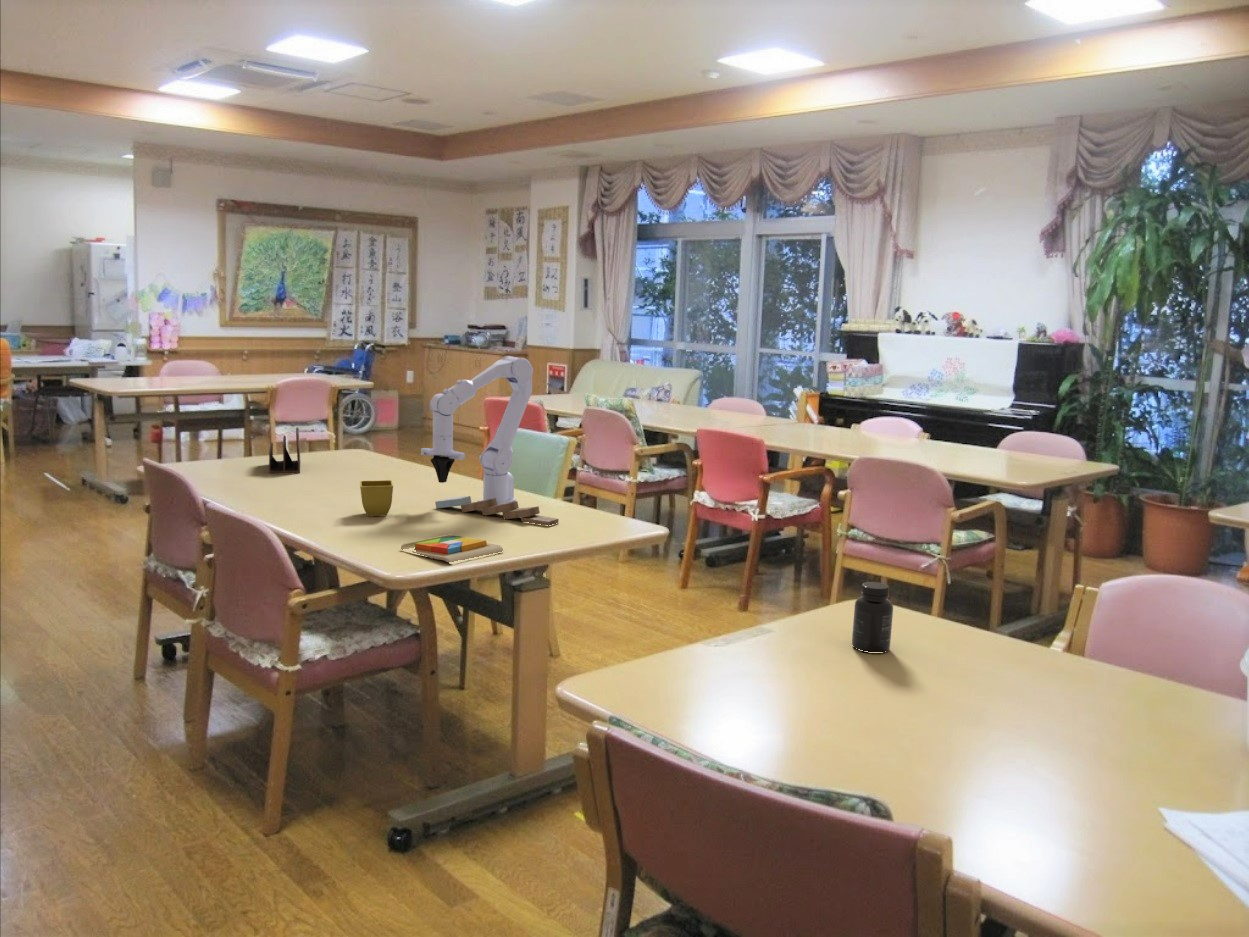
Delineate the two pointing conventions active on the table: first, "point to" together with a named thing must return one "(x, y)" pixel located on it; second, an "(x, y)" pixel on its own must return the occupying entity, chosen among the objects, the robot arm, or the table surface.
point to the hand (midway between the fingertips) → (442, 482)
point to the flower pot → (376, 497)
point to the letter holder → (285, 459)
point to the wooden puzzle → (452, 547)
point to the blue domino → (453, 502)
